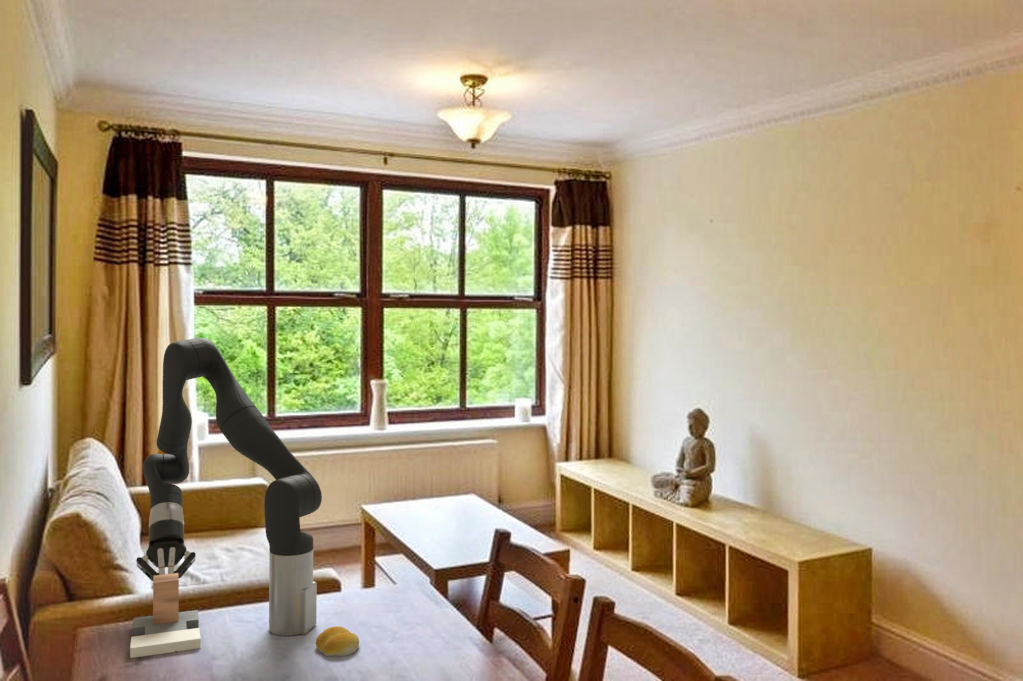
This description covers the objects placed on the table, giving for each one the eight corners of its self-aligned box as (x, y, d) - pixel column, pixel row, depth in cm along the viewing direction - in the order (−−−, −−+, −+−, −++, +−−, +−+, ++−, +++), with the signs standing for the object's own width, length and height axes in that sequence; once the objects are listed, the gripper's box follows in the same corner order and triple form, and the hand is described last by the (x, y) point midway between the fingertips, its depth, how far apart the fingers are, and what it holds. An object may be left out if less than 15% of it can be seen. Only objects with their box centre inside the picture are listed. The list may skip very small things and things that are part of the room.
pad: (131, 646, 163) (131, 636, 163) (199, 637, 169) (199, 627, 169) (130, 658, 158) (130, 648, 158) (200, 648, 163) (200, 638, 163)
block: (153, 616, 174) (153, 575, 174) (178, 613, 176) (178, 573, 176) (153, 624, 170) (153, 582, 170) (178, 621, 172) (178, 579, 172)
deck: (133, 627, 174) (133, 617, 173) (197, 618, 179) (197, 609, 179) (131, 646, 163) (131, 636, 163) (199, 637, 169) (199, 627, 169)
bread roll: (331, 662, 158) (331, 642, 158) (310, 647, 165) (310, 628, 165) (367, 650, 163) (367, 631, 163) (345, 637, 170) (346, 618, 170)
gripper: (134, 520, 182) (132, 591, 171) (197, 515, 187) (198, 583, 176) (135, 537, 187) (133, 607, 176) (196, 532, 192) (198, 599, 181)
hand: (166, 595), depth 176 cm, fingers closed
